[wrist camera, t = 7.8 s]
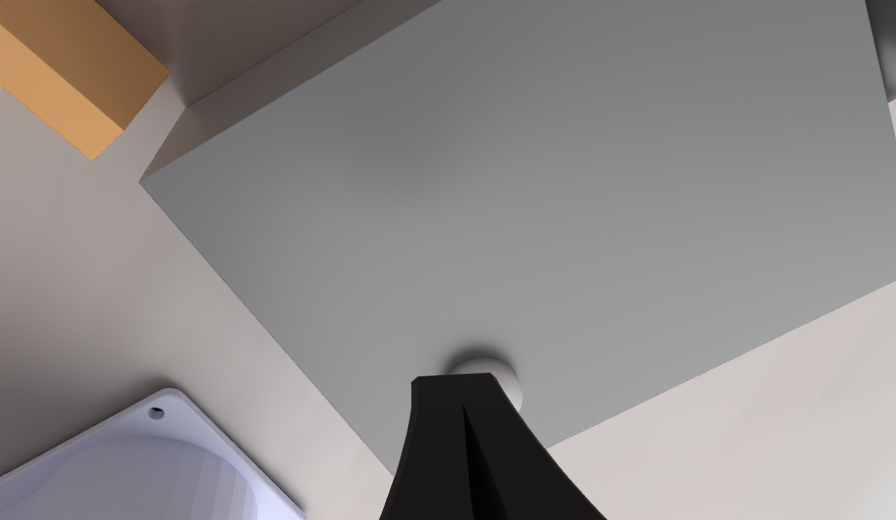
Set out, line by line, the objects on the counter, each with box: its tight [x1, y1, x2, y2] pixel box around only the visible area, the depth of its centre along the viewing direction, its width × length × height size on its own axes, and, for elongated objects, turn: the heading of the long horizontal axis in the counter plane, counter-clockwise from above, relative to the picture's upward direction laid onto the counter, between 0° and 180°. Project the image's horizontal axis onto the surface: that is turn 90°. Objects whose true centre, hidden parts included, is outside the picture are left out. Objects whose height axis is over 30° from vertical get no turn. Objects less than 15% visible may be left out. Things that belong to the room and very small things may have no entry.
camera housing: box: [139, 0, 896, 477], centre depth 19 cm, size 17×12×6 cm
